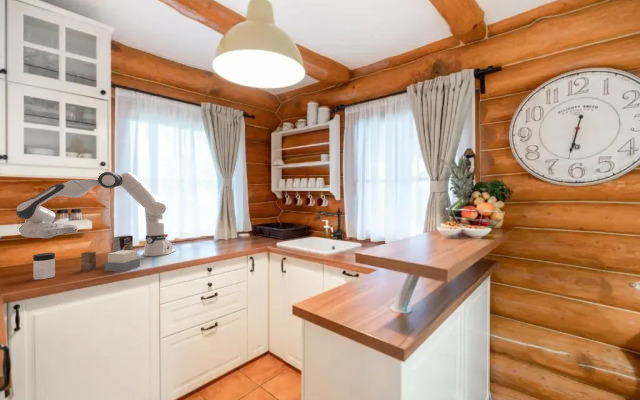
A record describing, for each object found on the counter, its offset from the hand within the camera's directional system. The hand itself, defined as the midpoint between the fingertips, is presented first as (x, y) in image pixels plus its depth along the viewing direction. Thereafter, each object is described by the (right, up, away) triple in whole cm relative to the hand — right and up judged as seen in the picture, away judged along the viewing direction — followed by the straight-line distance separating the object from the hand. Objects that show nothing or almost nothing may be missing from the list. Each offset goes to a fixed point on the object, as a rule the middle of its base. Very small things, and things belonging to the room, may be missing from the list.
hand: (68, 230), depth 163 cm
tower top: (+30, -18, +3) cm, 35 cm away
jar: (+2, -22, -16) cm, 28 cm away
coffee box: (+18, -22, +20) cm, 35 cm away
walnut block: (+13, -22, -1) cm, 26 cm away
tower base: (+30, -23, +3) cm, 37 cm away
